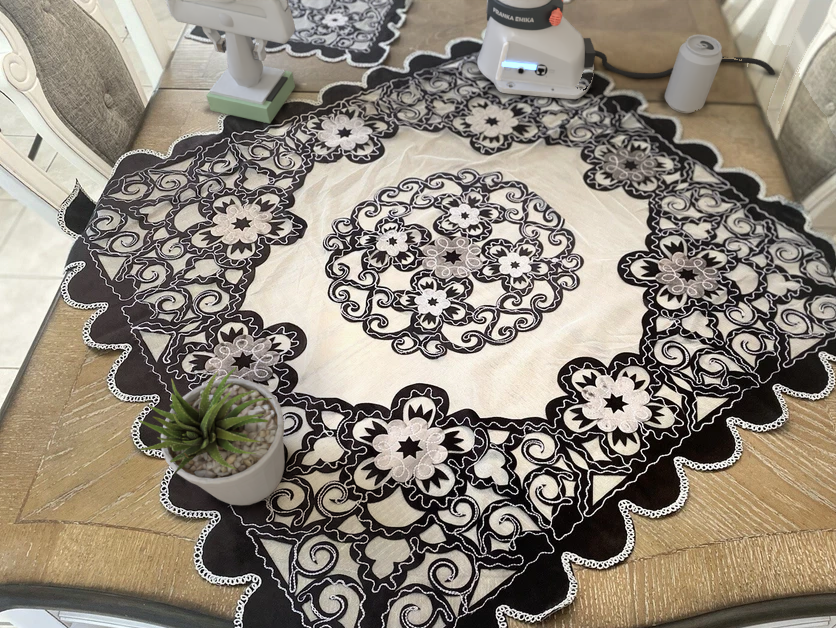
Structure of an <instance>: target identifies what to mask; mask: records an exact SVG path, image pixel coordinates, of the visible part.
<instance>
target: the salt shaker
mask: <svg viewBox="0 0 836 628" xmlns="http://www.w3.org/2000/svg"><path fill="white" fill-rule="evenodd" d="M219 19H220V22H221V24H222V25H224V26H227V27H233V26H234V24H233V20H232V18H231V17H230V16H229V15H226V14H220V15H219ZM224 35H225V37H224V38H226V61H227V63H226V64H227V68H228V71H229V73H230V75H231V76H232V78H233V79H234V80H235V81H236V83H237V84H238V85H240V86H244V87H251V86H255V85H258V83H259V81H260V79H261V75H262V72H263V66H264V63H263V61H260V60H256V59H254V55H253V53H252V50H253V49H254V48H255V46H256V45H255V44H254V41H253V39H252V37H248V36H244V35H239V34H234V33H229V32H225V31H224Z"/></svg>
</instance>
